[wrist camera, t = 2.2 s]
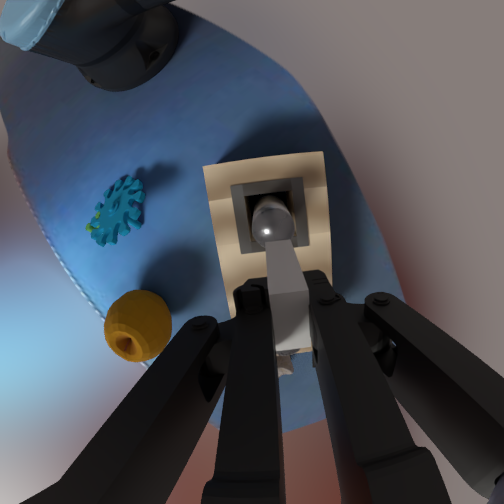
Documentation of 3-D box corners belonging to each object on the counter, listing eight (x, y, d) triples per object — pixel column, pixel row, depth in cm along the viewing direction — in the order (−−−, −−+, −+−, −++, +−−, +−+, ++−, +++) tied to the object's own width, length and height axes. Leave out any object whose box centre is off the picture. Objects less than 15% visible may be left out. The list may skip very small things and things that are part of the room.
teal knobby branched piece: (142, 161, 32) (134, 226, 28) (167, 185, 37) (166, 247, 33) (89, 194, 35) (77, 254, 30) (114, 212, 40) (108, 269, 36)
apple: (132, 327, 42) (104, 372, 31) (118, 276, 39) (80, 315, 28) (185, 330, 42) (166, 381, 31) (175, 276, 39) (147, 320, 28)
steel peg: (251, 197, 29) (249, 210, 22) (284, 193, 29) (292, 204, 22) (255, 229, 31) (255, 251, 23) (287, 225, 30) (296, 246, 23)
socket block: (215, 164, 33) (202, 166, 26) (308, 152, 33) (323, 151, 25) (243, 325, 41) (240, 359, 34) (320, 315, 40) (331, 348, 33)
